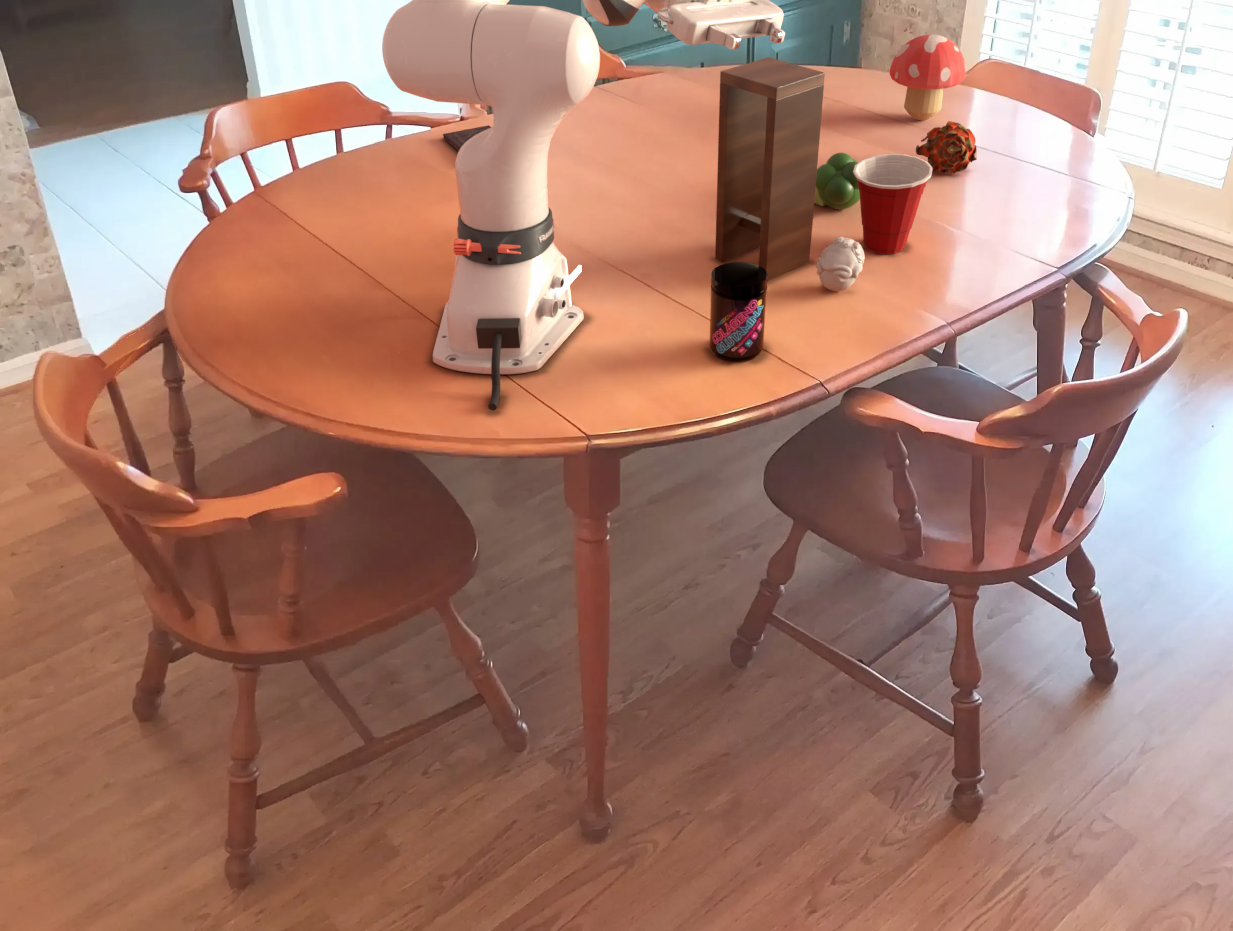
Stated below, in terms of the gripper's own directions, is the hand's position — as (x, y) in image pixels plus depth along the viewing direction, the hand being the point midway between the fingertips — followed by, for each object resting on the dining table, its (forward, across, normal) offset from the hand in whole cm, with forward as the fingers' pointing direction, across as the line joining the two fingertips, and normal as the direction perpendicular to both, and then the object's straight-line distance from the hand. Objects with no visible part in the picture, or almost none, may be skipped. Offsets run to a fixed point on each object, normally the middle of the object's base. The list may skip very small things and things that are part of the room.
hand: (759, 41), depth 167 cm
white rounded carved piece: (+39, -16, +17) cm, 45 cm away
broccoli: (+16, +5, +19) cm, 26 cm away
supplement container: (+43, -37, +18) cm, 60 cm away
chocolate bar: (-38, -22, +33) cm, 55 cm away
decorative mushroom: (+2, +47, +19) cm, 50 cm away
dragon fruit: (+20, +30, +16) cm, 40 cm away
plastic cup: (+34, -1, +16) cm, 38 cm away
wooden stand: (+26, -17, +19) cm, 37 cm away
